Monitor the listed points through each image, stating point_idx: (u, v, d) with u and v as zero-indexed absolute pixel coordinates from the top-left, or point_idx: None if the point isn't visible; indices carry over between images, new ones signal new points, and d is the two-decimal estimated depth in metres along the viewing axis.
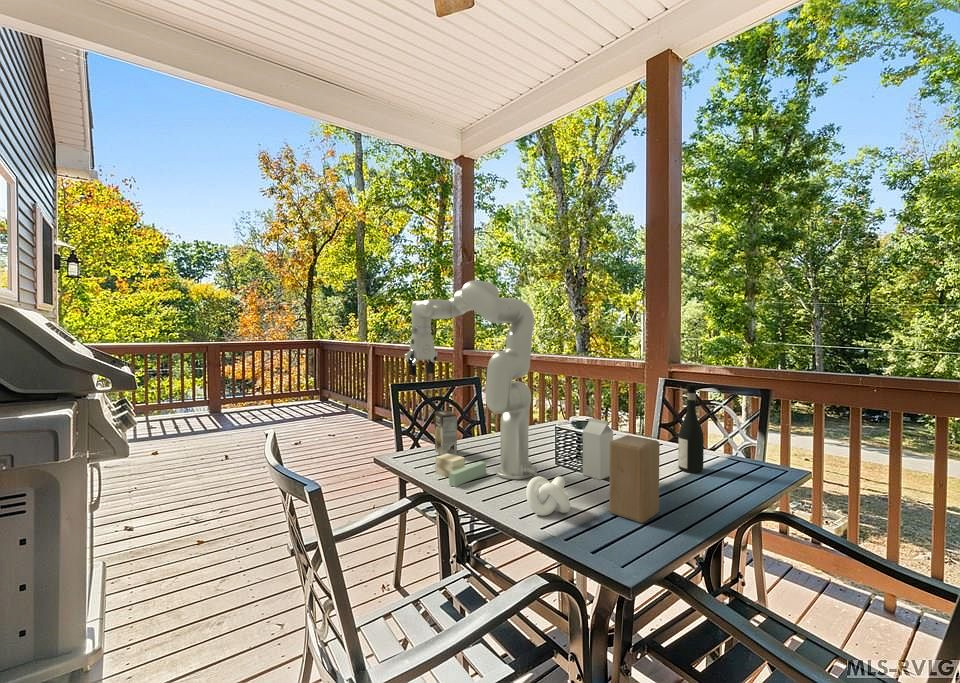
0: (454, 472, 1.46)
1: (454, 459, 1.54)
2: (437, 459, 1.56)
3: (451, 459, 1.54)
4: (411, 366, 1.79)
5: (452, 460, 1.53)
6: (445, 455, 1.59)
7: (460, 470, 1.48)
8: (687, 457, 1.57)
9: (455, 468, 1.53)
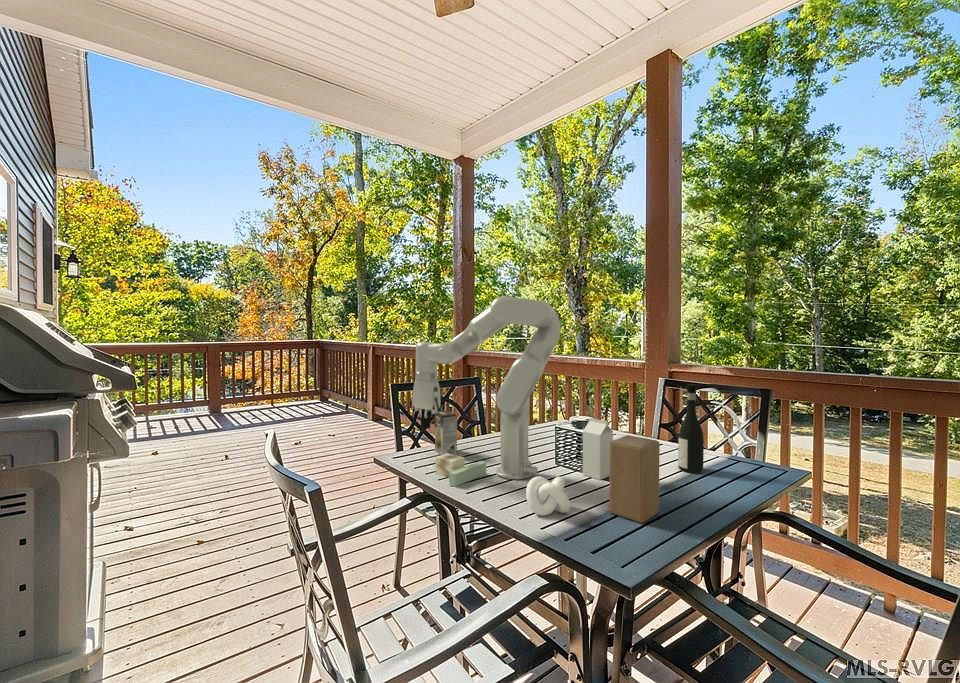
0: (454, 472, 1.46)
1: (454, 459, 1.54)
2: (437, 459, 1.56)
3: (451, 459, 1.54)
4: (429, 418, 1.62)
5: (452, 460, 1.53)
6: (445, 455, 1.59)
7: (460, 470, 1.48)
8: (687, 457, 1.57)
9: (455, 468, 1.53)
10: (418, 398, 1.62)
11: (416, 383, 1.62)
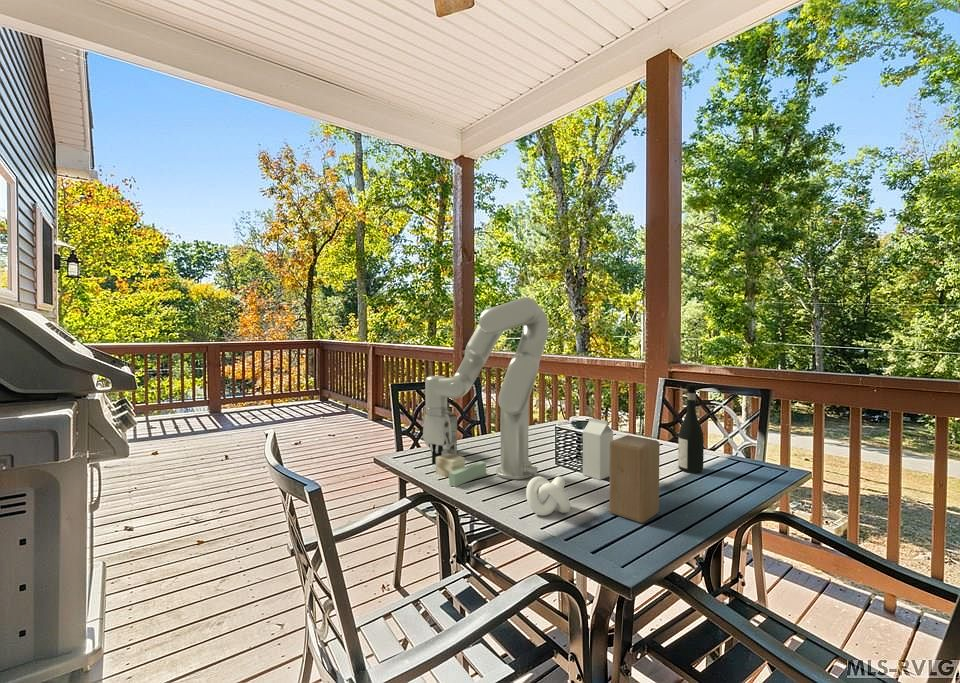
0: (454, 472, 1.46)
1: (454, 459, 1.54)
2: (438, 459, 1.56)
3: (451, 459, 1.54)
4: (440, 453, 1.60)
5: (452, 460, 1.53)
6: (445, 455, 1.59)
7: (460, 470, 1.48)
8: (687, 457, 1.57)
9: (455, 468, 1.53)
10: (429, 433, 1.59)
11: (426, 418, 1.60)
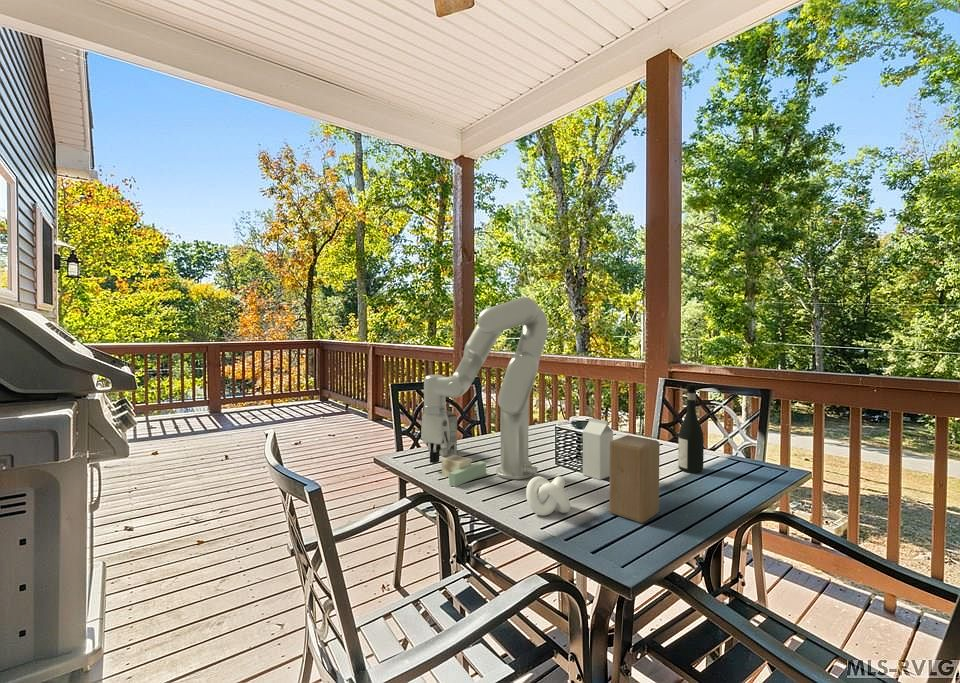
0: (454, 472, 1.46)
1: (461, 461, 1.52)
2: (444, 461, 1.54)
3: (458, 461, 1.52)
4: (438, 452, 1.60)
5: (458, 462, 1.51)
6: (451, 456, 1.57)
7: (460, 470, 1.48)
8: (687, 457, 1.57)
9: None
10: (427, 432, 1.60)
11: (425, 417, 1.60)
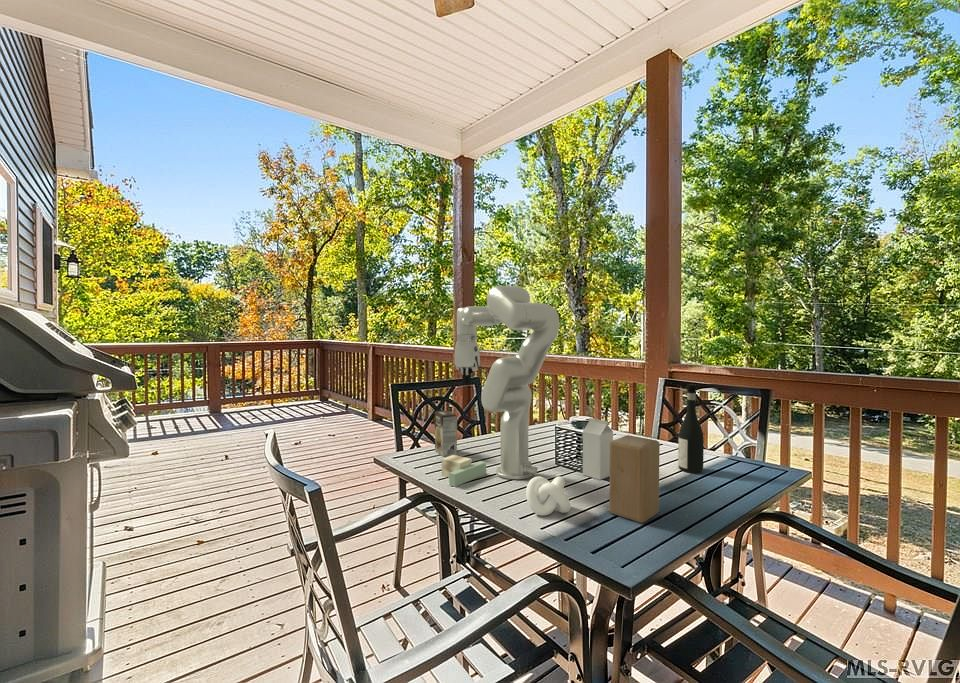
0: (454, 472, 1.46)
1: (461, 461, 1.52)
2: (444, 461, 1.54)
3: (458, 461, 1.52)
4: (469, 376, 1.82)
5: (459, 462, 1.51)
6: (451, 457, 1.57)
7: (460, 470, 1.48)
8: (687, 457, 1.57)
9: None
10: (460, 357, 1.81)
11: (457, 344, 1.82)
